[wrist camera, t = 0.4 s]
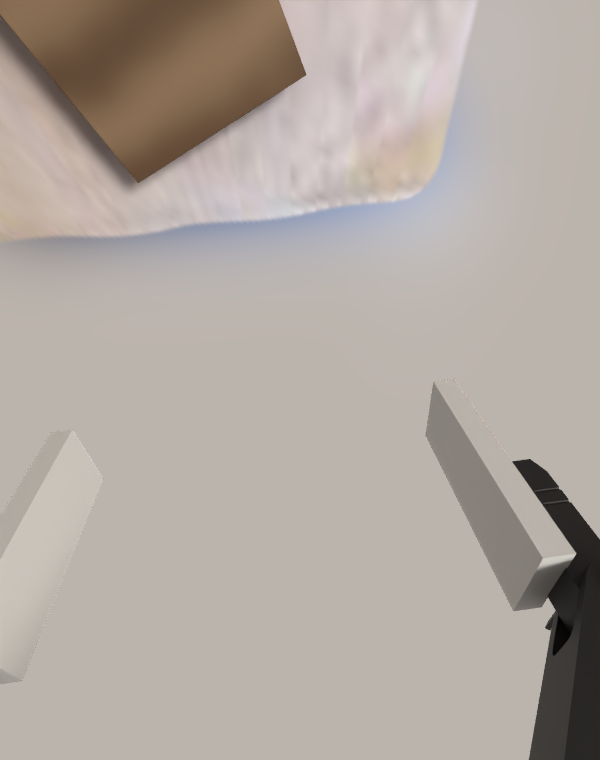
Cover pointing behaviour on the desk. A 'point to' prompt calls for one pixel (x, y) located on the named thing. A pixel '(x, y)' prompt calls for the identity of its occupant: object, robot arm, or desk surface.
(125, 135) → the walnut stand
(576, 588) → the robot arm
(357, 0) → the desk surface
